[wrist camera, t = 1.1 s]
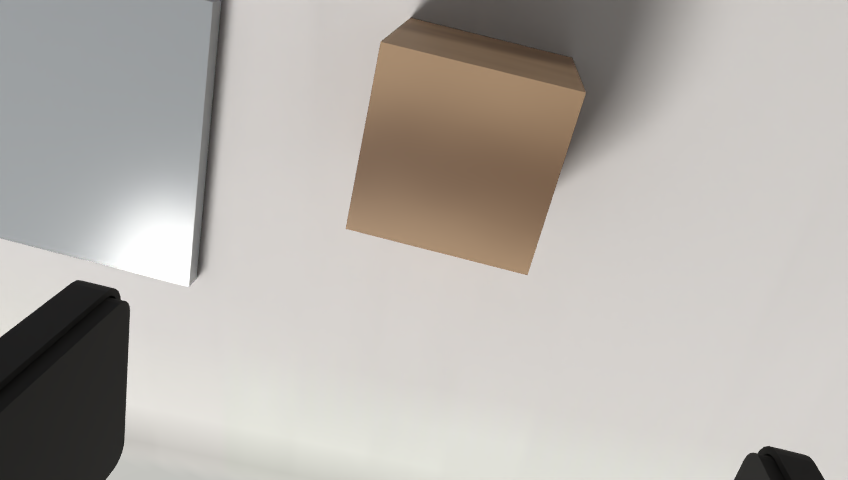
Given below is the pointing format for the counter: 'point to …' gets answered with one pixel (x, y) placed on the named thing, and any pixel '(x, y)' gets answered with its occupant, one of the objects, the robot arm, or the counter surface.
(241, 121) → the counter surface
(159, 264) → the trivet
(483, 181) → the walnut cube
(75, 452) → the robot arm
